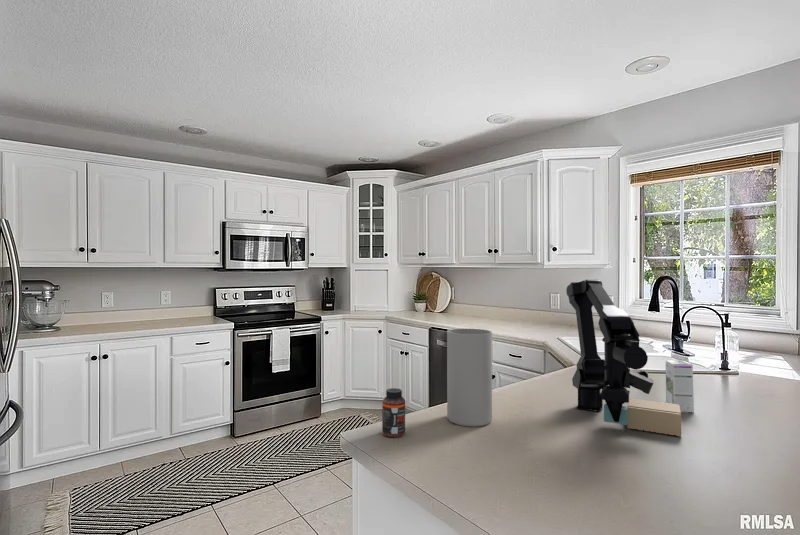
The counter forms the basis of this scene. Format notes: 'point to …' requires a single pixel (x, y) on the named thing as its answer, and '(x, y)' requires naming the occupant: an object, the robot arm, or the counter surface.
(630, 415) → the carton flap
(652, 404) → the carton
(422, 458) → the counter surface
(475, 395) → the cylinder vase
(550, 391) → the counter surface
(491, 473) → the counter surface
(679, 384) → the syrup box
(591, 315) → the robot arm
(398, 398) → the supplement bottle
